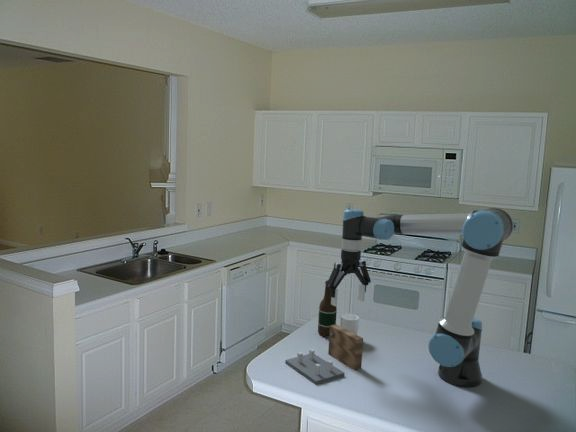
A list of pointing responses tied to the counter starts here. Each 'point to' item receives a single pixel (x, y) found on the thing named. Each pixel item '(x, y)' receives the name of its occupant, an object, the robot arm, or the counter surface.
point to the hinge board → (314, 367)
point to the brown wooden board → (345, 346)
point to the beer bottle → (326, 314)
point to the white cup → (350, 322)
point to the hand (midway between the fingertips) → (347, 302)
